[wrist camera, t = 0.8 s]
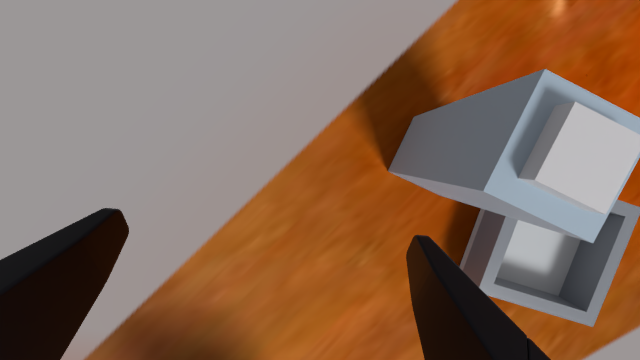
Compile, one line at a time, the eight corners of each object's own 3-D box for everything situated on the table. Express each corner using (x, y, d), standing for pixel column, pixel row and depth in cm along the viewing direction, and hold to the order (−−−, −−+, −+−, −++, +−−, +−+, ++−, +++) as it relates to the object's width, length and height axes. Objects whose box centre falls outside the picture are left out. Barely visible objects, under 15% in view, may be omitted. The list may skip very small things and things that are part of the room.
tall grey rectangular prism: (439, 195, 24) (615, 250, 10) (387, 171, 24) (497, 194, 10) (466, 142, 24) (684, 124, 10) (413, 116, 23) (564, 61, 10)
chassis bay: (558, 305, 25) (593, 326, 22) (456, 274, 25) (477, 292, 22) (600, 201, 24) (641, 208, 21) (496, 166, 24) (523, 168, 21)
